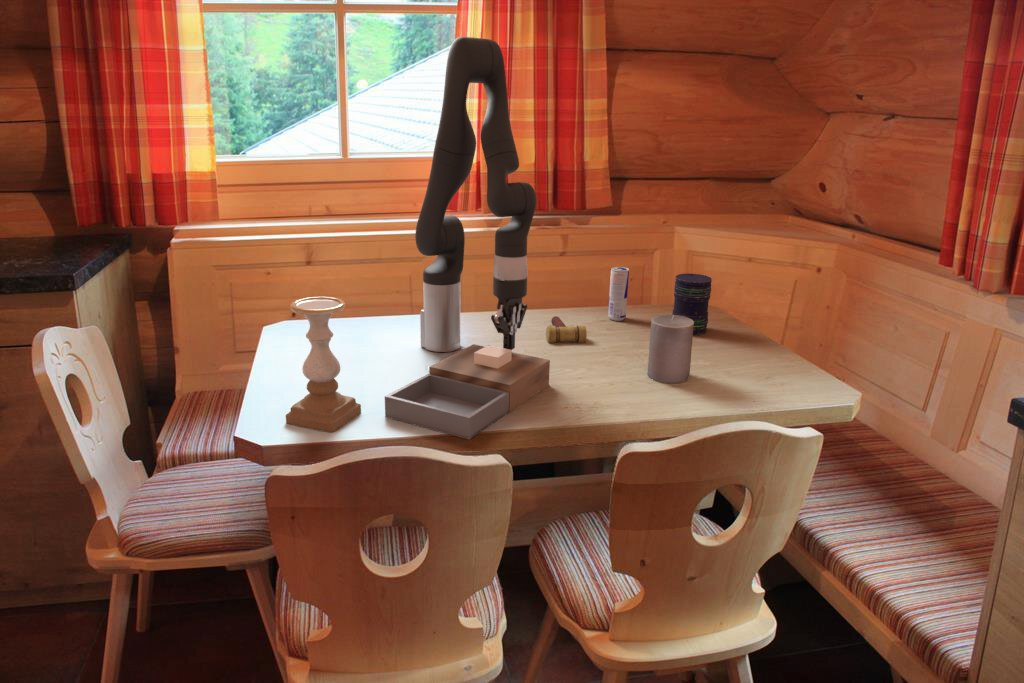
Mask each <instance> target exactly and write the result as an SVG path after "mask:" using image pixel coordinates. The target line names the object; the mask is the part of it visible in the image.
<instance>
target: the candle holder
mask: <svg viewBox="0 0 1024 683" xmlns="http://www.w3.org/2000/svg"><path fill="white" fill-rule="evenodd" d="M345 307H346V303H345V301H344V300H343V299H341V298H338V297H333V296H309V297H302V298H298V299H296V300H294V301H292V302H291V303H290V310H291V311H292V312H293V313H296V314H298V315H304V317H305V319H306V320H307V321H308V324H309V328H308V331H307V333H306V334H305V338H306V339H307V340H308V342H309V343H310V345H311V348H310V351H309V353H308V355H307V356H306V358H305V360H304V362H303V364H302V369H301V370H302V374H303V376H304V377H305V378H306V379H307V380H308V382H307V383H306V391H308V394H306V395H305V396H304V397H303V398H302V399H300V400H299V401H297V402H296V403H294V404H293V405H291V407H290V411H289V412H288V413H286V414H285V423H286V424H287V425H290V426H294V427H300V428H305V429H310V430H314V431H315V430H317V431H321V432H327V433H334V432H335V431H337V430H339V429H341V428H342V427H343V426H345V425H347V423H349V422H350V421H352V420H353V419H355V418H356V417H357V416H359V415H360V414H361V413H362V406H361V403H358V402H357V400H356V398H355V397H353V396H348V395H343V394H341V393H340V392H338V391H337V390H338V388H339V383H338V381H337V379H336V378H337V376H339V374H340V372H341V363H340V361H339V359H338V358H337V357H336V356H335V353H333V352H332V350H331V348H330V342H331V340H332V339H333V337H334V332H333V331H332V329H330V327H329V321H330V319H331V318H332V316H333V314H335V313H339V312H341V311H342V310H344V309H345Z"/></svg>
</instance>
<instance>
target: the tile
mask: <svg viewBox="0 0 1024 683" xmlns="http://www.w3.org/2000/svg"><path fill="white" fill-rule="evenodd" d="M512 350H513V349H512ZM512 350H510V349H505V348H503V347H500V346H499V347H498V346H495V345H486V346H484V348H482V349H480V350H478V351H476V352H474V363H475V364H479V365H484V366H488V367H493V368H500V367H501V366H503V365H505V364H506V363H508V362H510V361H511V359H512V352H513V351H512Z"/></svg>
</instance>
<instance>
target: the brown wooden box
mask: <svg viewBox="0 0 1024 683" xmlns="http://www.w3.org/2000/svg"><path fill="white" fill-rule="evenodd" d="M484 347H485V346H484V345H480V344H474V343H473V344H472V345H470V346H467V347H466V348H464V349H462V350H460V351H457V352H455V353H454V354H451V355H450V356H448V357H445V358H444V359H441V360H439V361H438V362H435V363H434V364H432V365H429V370H428V371H429V372H428V374H432V375H437V376H441V377H445V378H450V379H454V380H458V381H462V382H467V383H471V384H475V385H480V386H484V387H488V388H493V389H497V390H501V391H505V392H509V413H510V412H512V411H513V410H515V409H516V408H518V407H519V406H520V405H522V404H523V403H525V402H526V401H528V400H529V399H531V398H532V397H534V396H535V395H536V394H538V393H539V392H541V391H543V390H544V389H545V388H547V387H548V386H549V385H550V365H551V364H550V363H551V359H547V358H542V357H538V356H537V357H536V356H533V355H527V354H523V353H518V352H514V351H512V359H511V361H510V362H508V363H506V364H505V365H503V366H501V367H500V368H493V367H488V366H484V365H479V364H475V363H474V352H476V351H478V350H480V349H482V348H484Z"/></svg>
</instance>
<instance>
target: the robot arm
mask: <svg viewBox="0 0 1024 683" xmlns="http://www.w3.org/2000/svg"><path fill="white" fill-rule="evenodd" d="M444 77H445V78H444V86H443V87H444V89H443V97H442V98H443V99H442V105H441V107H442V108H441V112H440V118H439V124H438V130H437V134H436V139H435V144H434V149H433V154H432V161H431V168H430V172H429V178H428V182H427V186H426V191H425V195H424V199H423V202H422V206H421V207H420V208H421V209H420V212H419V216H418V219H417V223H416V227H415V235H414V236H415V237H414V238H415V245H416V248H417V250H418V252H419V253H420V254H422V255H423V256H426V257H435V256H437V257H436V259H435V260H434V261H433V262H432V263H431V264H429V265H428V266H427V267H426V268H424V270H423V273H422V281H423V282H422V284H423V286H422V288H423V289H422V293H423V308H422V309H421V310H420V311H419V319H420V320H419V321H420V324H419V325H420V328H419V329H420V347H421V348H424V349H425V350H428V351H430V352H434V353H448V352H453V351H454V352H455V351H456V350H457V351H458V350H459V349H460V348H461V276H462V273H463V270H464V258H465V242H466V241H465V240H466V238H465V229H464V226H463V225H464V224H463V223H462V221H461V219H459V218H458V217H457V216H456V215H452V214H446V212H447V210H448V207H449V204H450V202H451V201H452V199H453V198H454V197H455V195H456V194H457V192H458V191H459V190H460V189H461V187H462V186H463V185H464V183H465V182H466V180H467V179H468V177H469V175H470V173H471V171H472V168H473V163H474V159H475V155H476V149H477V148H476V147H477V138H476V134H475V132H474V131H475V130H474V128H473V125H472V122H471V120H470V117H469V114H468V110H467V109H468V108H467V101H468V100H467V99H468V98H467V97H468V91H469V86H470V84H471V83H472V84H482V85H483V87H484V90H485V93H486V99H487V103H486V104H487V106H486V111H485V113H484V118H483V122H482V126H481V129H480V144H481V149H482V152H483V157H484V160H485V164H486V170H487V174H486V183H487V184H486V203H487V207H488V209H489V210H490V212H491V213H492V214H493V215H494V216H496V217H498V218H507V217H511V219H510V221H509V223H507V224H506V225H503V226H501V227H499V228H497V229H496V230H495V235H494V258H493V259H494V260H493V266H492V267H493V270H492V271H493V274H492V275H493V278H492V280H493V281H492V294H493V296H495V297H496V298H497V299H498V301H497V304H496V305H497V306H496V309H497V312H496V314H492V315H491V317H490V320H491V321H492V323H493V326H494V327H495V331H497V333H498V334H502V335H503V339H502V340H503V344H502V348H505V349H510V350H514V349H515V348H516V334H517V331H518V329H521V327H522V324H523V321H524V318H525V315H526V312H527V309H528V304H525V303H523V298H525V297H526V296H527V294H528V274H529V272H528V271H529V270H528V269H529V267H528V266H529V265H528V264H529V263H528V236H529V232H530V229H531V225H532V222H533V219H534V218H533V217H534V215H535V212H536V208H537V194H536V191H535V188H534V187H533V185H531V184H530V183H528V182H526V181H518V182H507V180H506V176H507V175H510V174H513V173H515V172H516V171H517V170H519V167H520V159H519V155H518V151H517V147H516V143H515V139H514V135H513V130H512V126H511V119H510V112H509V100H508V99H509V98H508V86H507V79H506V78H507V77H506V67H505V60H504V55H503V52H502V49H501V46H500V45H499V44H498V42H497V41H496V40H493V39H489V38H480V37H472V36H471V37H470V36H459V37H457V38H455V39H454V40H453V42H452V43H451V45H450V48H449V50H448V54H447V59H446V68H445V76H444Z"/></svg>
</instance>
